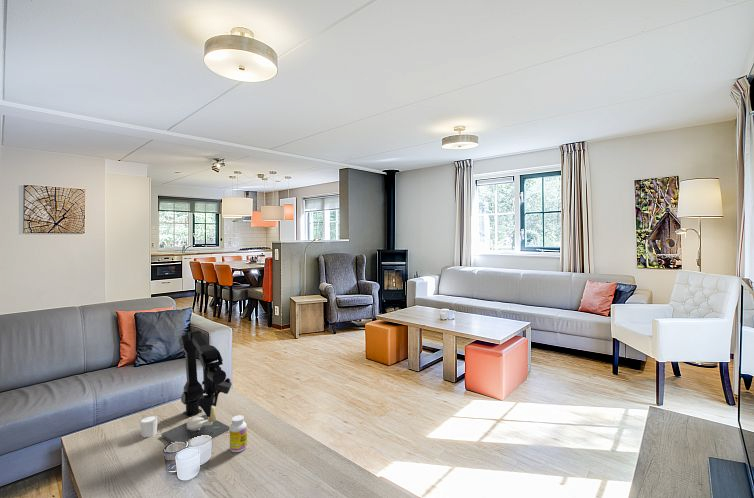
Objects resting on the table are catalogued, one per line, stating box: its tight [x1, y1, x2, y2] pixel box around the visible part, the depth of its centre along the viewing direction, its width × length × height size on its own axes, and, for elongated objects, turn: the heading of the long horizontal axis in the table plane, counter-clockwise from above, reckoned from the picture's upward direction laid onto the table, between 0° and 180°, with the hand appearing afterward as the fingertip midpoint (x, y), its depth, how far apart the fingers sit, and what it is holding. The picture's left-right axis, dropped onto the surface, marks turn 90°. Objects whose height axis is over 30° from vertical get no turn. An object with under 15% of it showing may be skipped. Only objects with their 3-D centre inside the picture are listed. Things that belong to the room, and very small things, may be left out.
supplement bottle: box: [228, 414, 248, 453], centre depth 150 cm, size 7×7×13 cm
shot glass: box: [139, 414, 158, 439], centre depth 162 cm, size 7×7×7 cm
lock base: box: [161, 414, 230, 444], centre depth 162 cm, size 20×20×3 cm
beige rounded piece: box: [186, 405, 217, 430], centre depth 162 cm, size 12×7×8 cm, turn 98°
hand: (211, 411), depth 163 cm, fingers open, 9 cm apart
